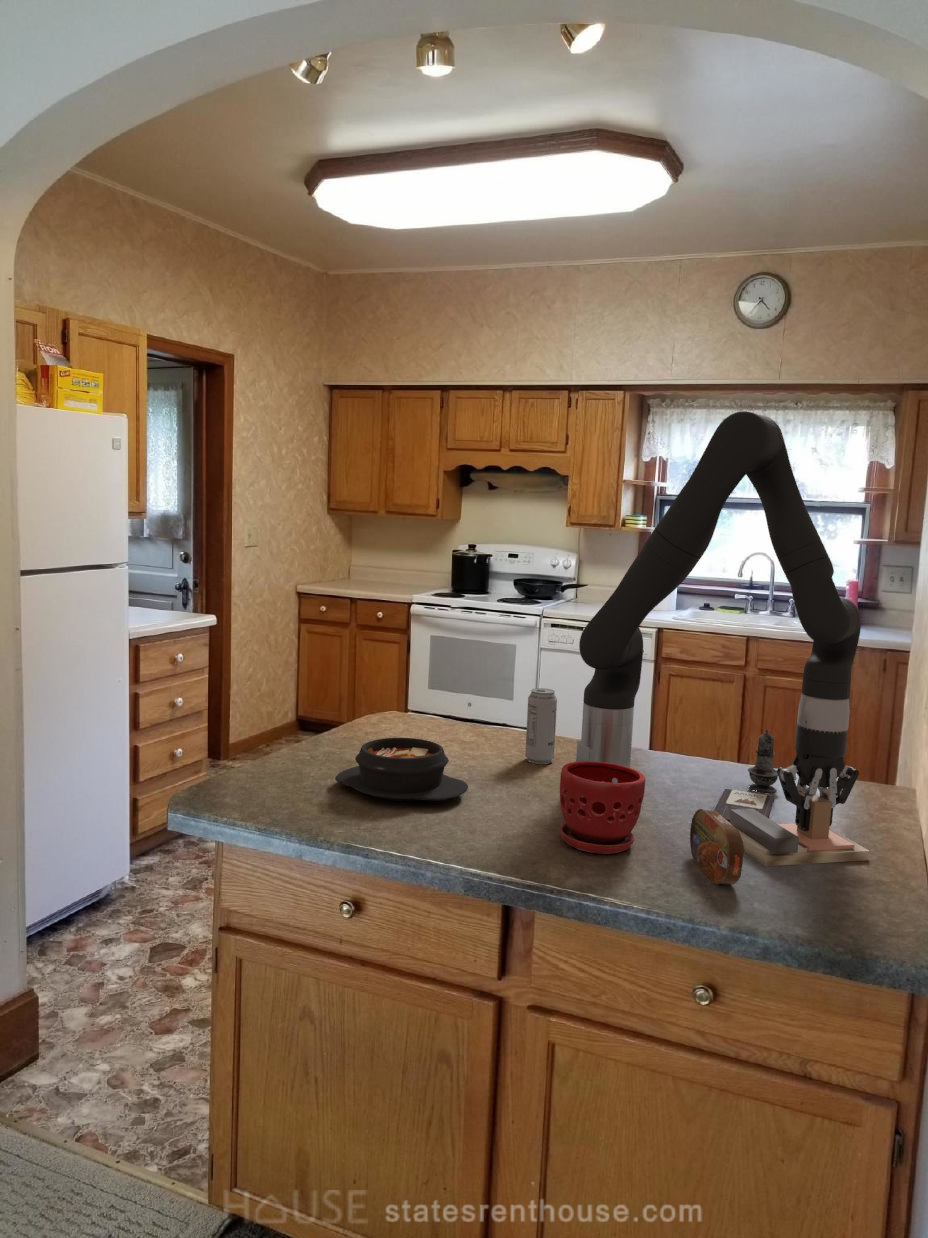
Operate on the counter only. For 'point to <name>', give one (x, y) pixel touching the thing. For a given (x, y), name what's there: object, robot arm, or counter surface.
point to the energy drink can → (541, 726)
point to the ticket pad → (809, 855)
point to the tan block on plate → (819, 828)
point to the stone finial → (764, 766)
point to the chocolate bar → (743, 802)
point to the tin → (716, 847)
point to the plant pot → (600, 805)
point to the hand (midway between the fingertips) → (813, 828)
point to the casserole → (402, 771)
